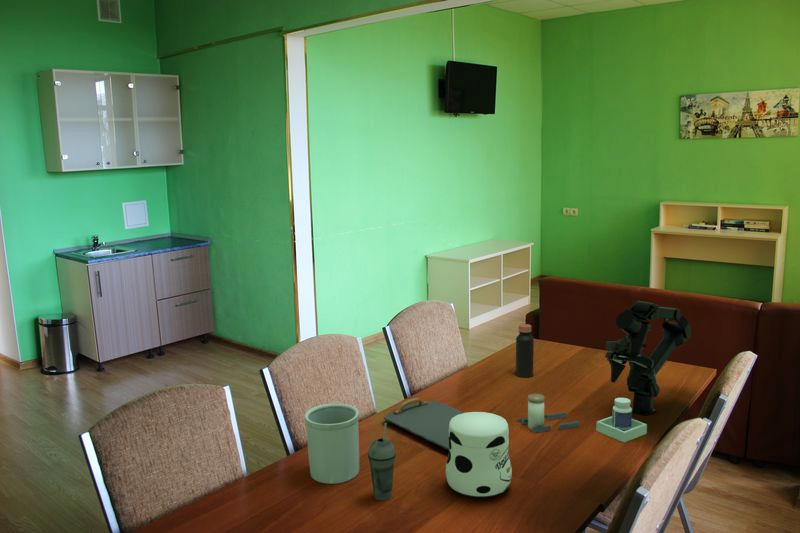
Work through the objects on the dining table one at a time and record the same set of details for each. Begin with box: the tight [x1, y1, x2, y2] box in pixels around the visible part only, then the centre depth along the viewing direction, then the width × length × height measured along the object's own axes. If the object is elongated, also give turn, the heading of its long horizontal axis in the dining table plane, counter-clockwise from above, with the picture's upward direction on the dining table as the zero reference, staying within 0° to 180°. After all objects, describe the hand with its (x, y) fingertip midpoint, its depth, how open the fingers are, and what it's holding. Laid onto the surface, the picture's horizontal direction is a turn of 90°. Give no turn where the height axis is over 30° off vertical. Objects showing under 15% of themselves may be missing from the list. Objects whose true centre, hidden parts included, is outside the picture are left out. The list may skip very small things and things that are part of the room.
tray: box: [595, 415, 648, 443], centre depth 211 cm, size 11×11×3 cm
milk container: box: [445, 411, 513, 499], centre depth 178 cm, size 17×17×18 cm
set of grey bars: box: [515, 411, 581, 434], centre depth 219 cm, size 17×11×2 cm, turn 107°
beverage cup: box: [367, 422, 397, 501], centre depth 174 cm, size 7×7×20 cm
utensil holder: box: [304, 402, 360, 485], centre depth 188 cm, size 15×15×18 cm
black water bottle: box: [515, 323, 535, 378], centre depth 264 cm, size 7×7×20 cm
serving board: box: [383, 397, 465, 452], centre depth 215 cm, size 39×23×6 cm, turn 39°
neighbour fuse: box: [527, 393, 546, 430], centre depth 216 cm, size 5×5×10 cm
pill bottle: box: [611, 397, 633, 431], centre depth 210 cm, size 6×6×10 cm
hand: (620, 384), depth 217 cm, fingers open, 9 cm apart
